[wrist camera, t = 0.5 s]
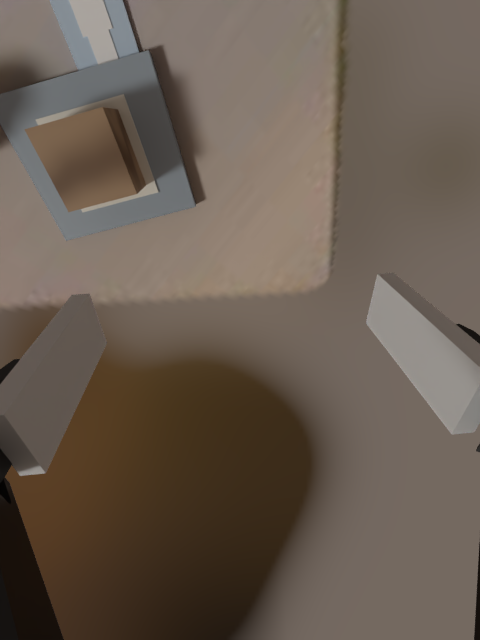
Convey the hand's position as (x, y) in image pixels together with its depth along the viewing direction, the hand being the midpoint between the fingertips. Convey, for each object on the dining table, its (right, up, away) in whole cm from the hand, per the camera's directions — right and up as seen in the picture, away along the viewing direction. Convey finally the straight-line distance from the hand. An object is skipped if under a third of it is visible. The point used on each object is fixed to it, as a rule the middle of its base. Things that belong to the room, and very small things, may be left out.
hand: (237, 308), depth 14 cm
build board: (-15, +17, +18) cm, 29 cm away
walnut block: (-14, +16, +17) cm, 28 cm away
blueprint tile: (-13, +25, +13) cm, 31 cm away
